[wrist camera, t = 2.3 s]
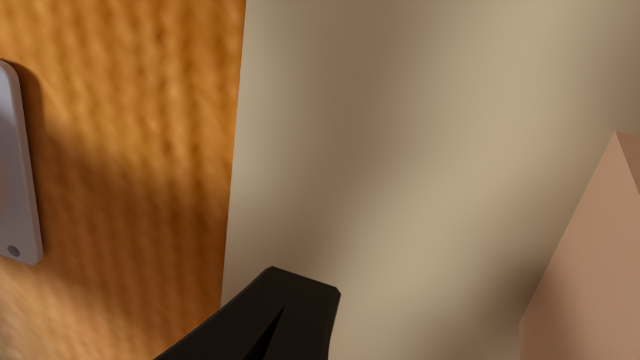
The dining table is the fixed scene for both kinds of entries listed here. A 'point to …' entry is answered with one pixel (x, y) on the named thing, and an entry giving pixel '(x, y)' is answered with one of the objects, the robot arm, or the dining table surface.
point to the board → (423, 158)
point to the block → (593, 270)
